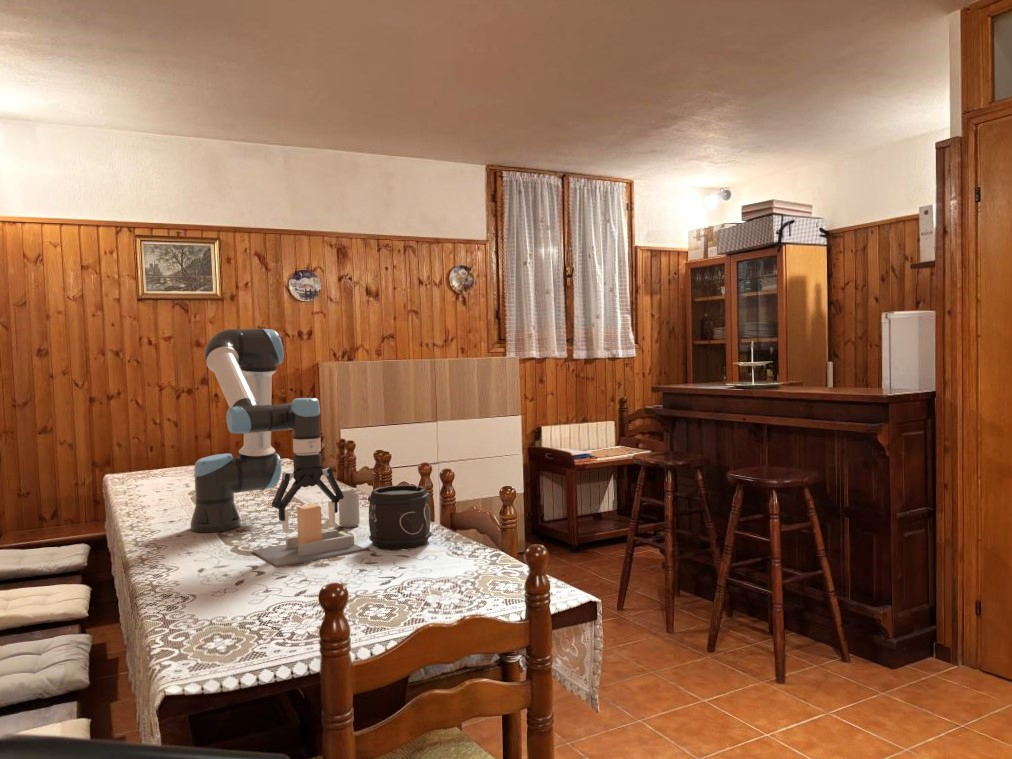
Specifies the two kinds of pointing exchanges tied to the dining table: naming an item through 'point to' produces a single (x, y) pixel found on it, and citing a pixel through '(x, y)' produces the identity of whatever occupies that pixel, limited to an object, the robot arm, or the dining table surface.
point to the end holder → (310, 549)
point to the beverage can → (349, 508)
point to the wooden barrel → (399, 517)
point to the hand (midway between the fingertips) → (309, 528)
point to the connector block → (309, 523)
